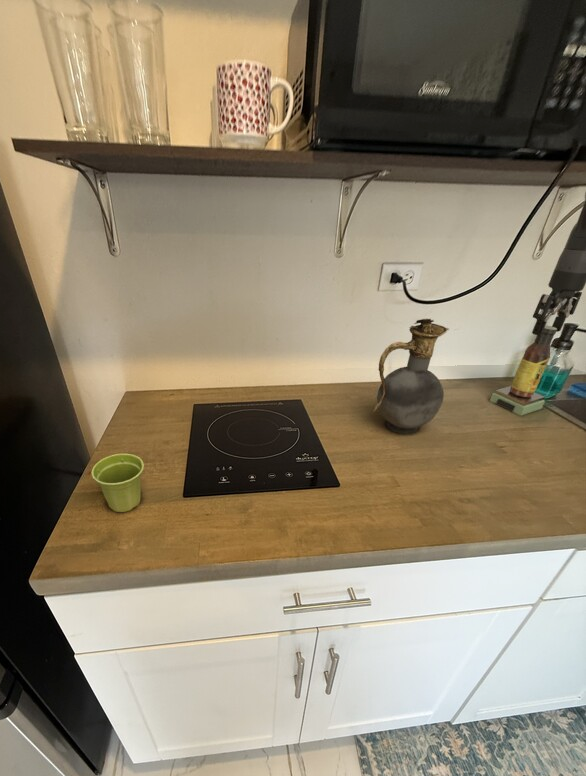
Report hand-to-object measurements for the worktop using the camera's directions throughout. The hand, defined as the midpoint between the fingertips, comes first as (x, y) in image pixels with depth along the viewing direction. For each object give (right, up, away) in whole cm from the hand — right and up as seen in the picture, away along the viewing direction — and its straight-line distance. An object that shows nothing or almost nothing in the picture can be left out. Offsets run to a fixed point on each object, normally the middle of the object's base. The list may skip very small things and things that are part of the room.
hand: (545, 332), depth 106 cm
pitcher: (-41, -26, -1) cm, 49 cm away
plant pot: (-105, -41, -28) cm, 116 cm away
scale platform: (0, -16, +10) cm, 19 cm away
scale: (-1, -19, +12) cm, 23 cm away
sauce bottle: (0, -16, +10) cm, 19 cm away
